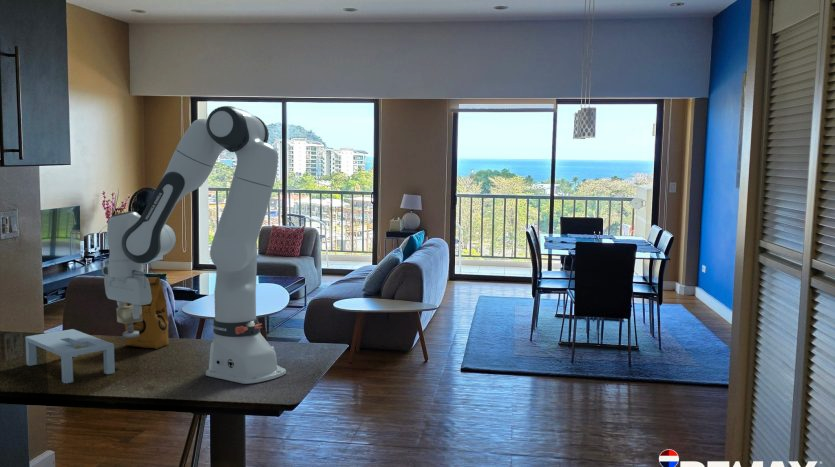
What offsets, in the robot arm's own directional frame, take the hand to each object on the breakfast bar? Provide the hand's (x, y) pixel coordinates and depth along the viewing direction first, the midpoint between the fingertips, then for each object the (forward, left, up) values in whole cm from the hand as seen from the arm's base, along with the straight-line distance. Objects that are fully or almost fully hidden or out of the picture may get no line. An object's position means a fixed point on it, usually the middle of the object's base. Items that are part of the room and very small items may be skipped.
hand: (129, 317), depth 199 cm
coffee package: (+15, -13, -13) cm, 24 cm away
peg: (0, 0, -6) cm, 6 cm away
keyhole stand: (+7, +14, -13) cm, 21 cm away
